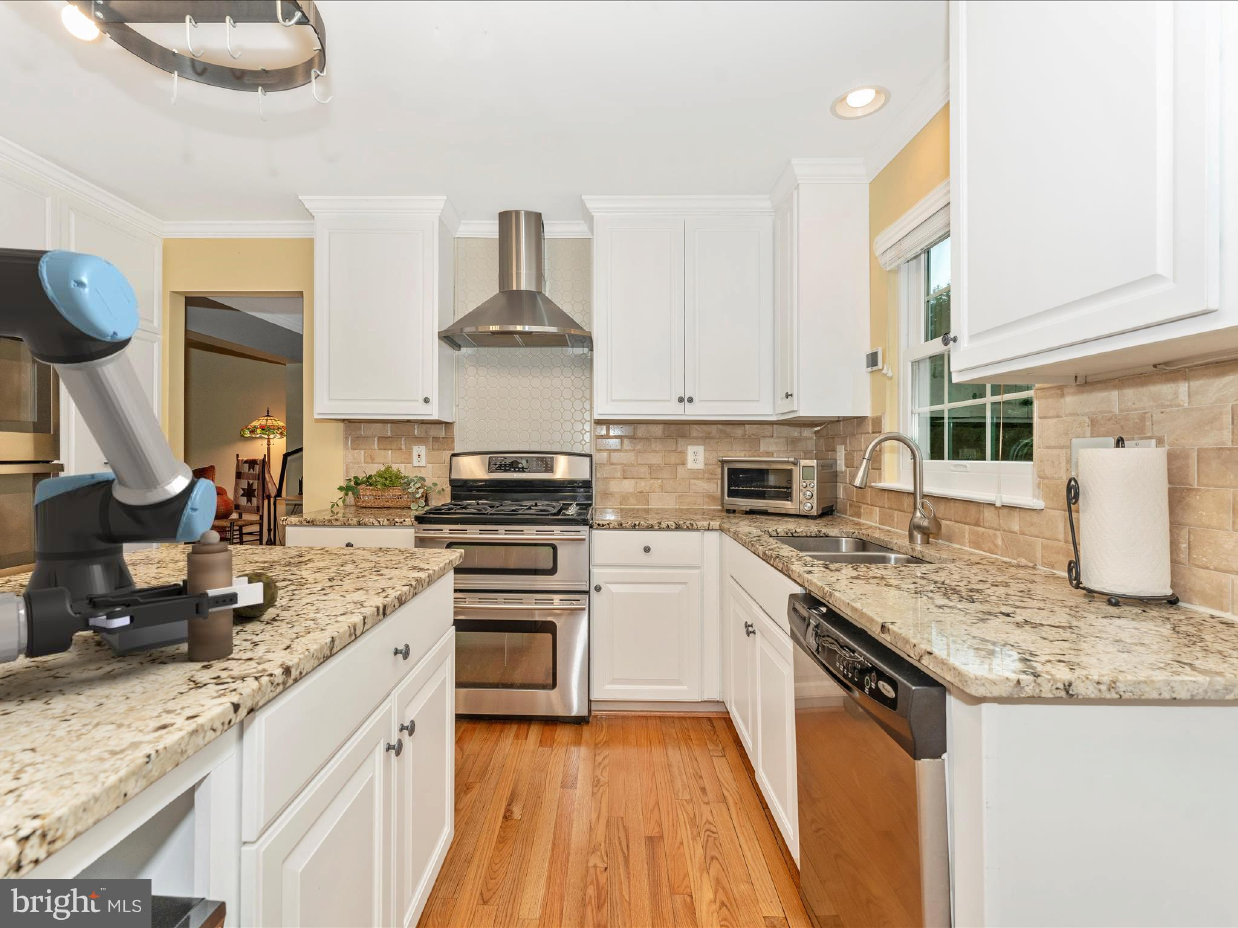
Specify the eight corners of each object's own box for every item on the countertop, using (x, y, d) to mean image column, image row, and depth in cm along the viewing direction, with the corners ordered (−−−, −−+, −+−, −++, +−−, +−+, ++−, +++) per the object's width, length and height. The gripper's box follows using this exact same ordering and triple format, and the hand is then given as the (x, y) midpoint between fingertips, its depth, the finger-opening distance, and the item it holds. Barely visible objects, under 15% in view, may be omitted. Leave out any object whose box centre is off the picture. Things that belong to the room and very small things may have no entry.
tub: (99, 637, 87) (99, 603, 87) (196, 620, 97) (196, 589, 96) (118, 655, 80) (118, 618, 80) (222, 634, 89) (221, 601, 89)
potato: (276, 606, 106) (276, 561, 105) (279, 624, 95) (278, 574, 94) (220, 612, 101) (220, 565, 101) (216, 632, 90) (215, 579, 90)
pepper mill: (182, 656, 80) (181, 530, 79) (225, 646, 84) (224, 526, 83) (194, 664, 77) (193, 533, 76) (238, 654, 80) (237, 529, 80)
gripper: (12, 642, 72) (231, 604, 90) (32, 679, 60) (280, 628, 78) (11, 580, 72) (231, 555, 90) (31, 605, 60) (279, 571, 78)
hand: (253, 589), depth 84 cm, fingers closed on pepper mill, 5 cm apart
